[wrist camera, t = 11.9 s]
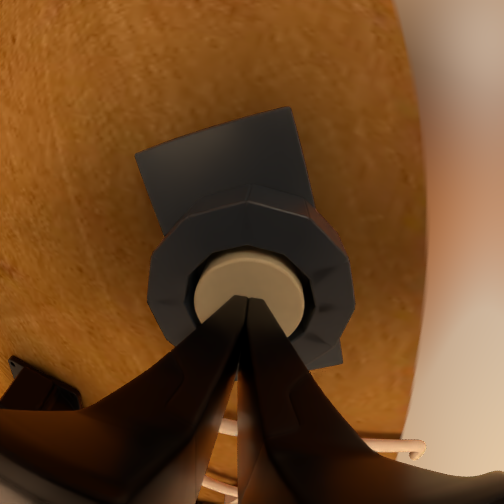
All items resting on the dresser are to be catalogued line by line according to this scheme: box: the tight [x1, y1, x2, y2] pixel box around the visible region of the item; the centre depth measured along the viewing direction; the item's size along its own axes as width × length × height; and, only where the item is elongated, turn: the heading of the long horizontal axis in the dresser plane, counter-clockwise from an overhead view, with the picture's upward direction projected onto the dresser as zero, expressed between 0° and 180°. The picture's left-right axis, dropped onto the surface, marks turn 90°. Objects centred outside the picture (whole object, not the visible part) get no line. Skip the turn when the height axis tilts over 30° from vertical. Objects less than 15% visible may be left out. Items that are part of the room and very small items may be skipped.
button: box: [194, 245, 304, 337], centre depth 10 cm, size 3×3×2 cm
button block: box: [135, 106, 356, 381], centre depth 11 cm, size 10×6×4 cm, turn 16°
